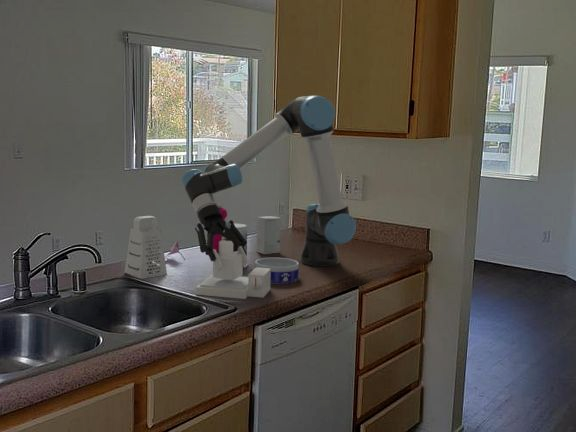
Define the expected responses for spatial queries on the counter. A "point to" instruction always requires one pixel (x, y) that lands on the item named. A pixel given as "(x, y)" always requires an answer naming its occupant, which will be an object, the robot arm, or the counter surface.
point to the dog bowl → (280, 269)
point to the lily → (175, 249)
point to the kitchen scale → (238, 285)
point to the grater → (145, 250)
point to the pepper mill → (216, 237)
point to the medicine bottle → (229, 260)
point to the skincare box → (268, 234)
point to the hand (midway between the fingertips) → (233, 266)
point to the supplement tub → (242, 230)
